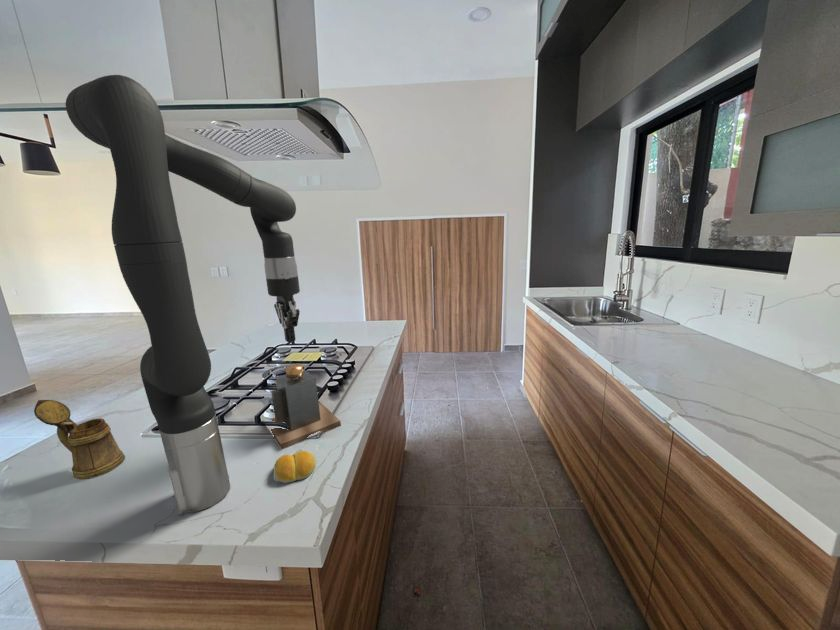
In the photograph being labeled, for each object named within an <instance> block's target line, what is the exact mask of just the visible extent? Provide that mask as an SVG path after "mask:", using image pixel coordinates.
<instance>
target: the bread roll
mask: <svg viewBox="0 0 840 630" xmlns="http://www.w3.org/2000/svg"><path fill="white" fill-rule="evenodd" d="M273 466H274V468H273V478H274V480H275V482H278V483H283V484H284V483H285V484H287V483H292V482H295V481H299V480H303V479H306V478H308V477H309V476H311V474H312V473H313V471H314V469H315V468H316V466H317V460H316V457H315V455H314V454H313V453H312V452H310V451H308V450H306V451H305V450H299V451H297V452H294V453H293V454H283V455H281V456H280V457H278V459H277V460H276V461H275V463H274V465H273Z"/></svg>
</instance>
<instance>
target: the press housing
mask: <svg viewBox="0 0 840 630" xmlns="http://www.w3.org/2000/svg"><path fill="white" fill-rule="evenodd" d="M303 372H304V374H303V376H301V377H298V379H296V380H293V379H290V378H287V377H286V374H284V375H279V376H276V377H275V382H276V387H277V389H275V390H272V391H271V392H270V393H271V399H272V406H273V411H274V412H273V413H274V415H275V419H276V420H277V421H279V420H282V419H283V421H284V422H285V423H286V424H287V425H288V426H289V427H290V430H291V431H293V430H296V429H299V428H301V427H304V426H306V425H309V424H312V423H314V422H317V421H320V420H321V418H320V410H319V402H320V401H319V395H318V388H317V387H318V385H317V380H316V377H315V376H313V375H312V374H311V373H310V372H309V371H308V370H306V369H304V368H303ZM318 401H319V402H318Z"/></svg>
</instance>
